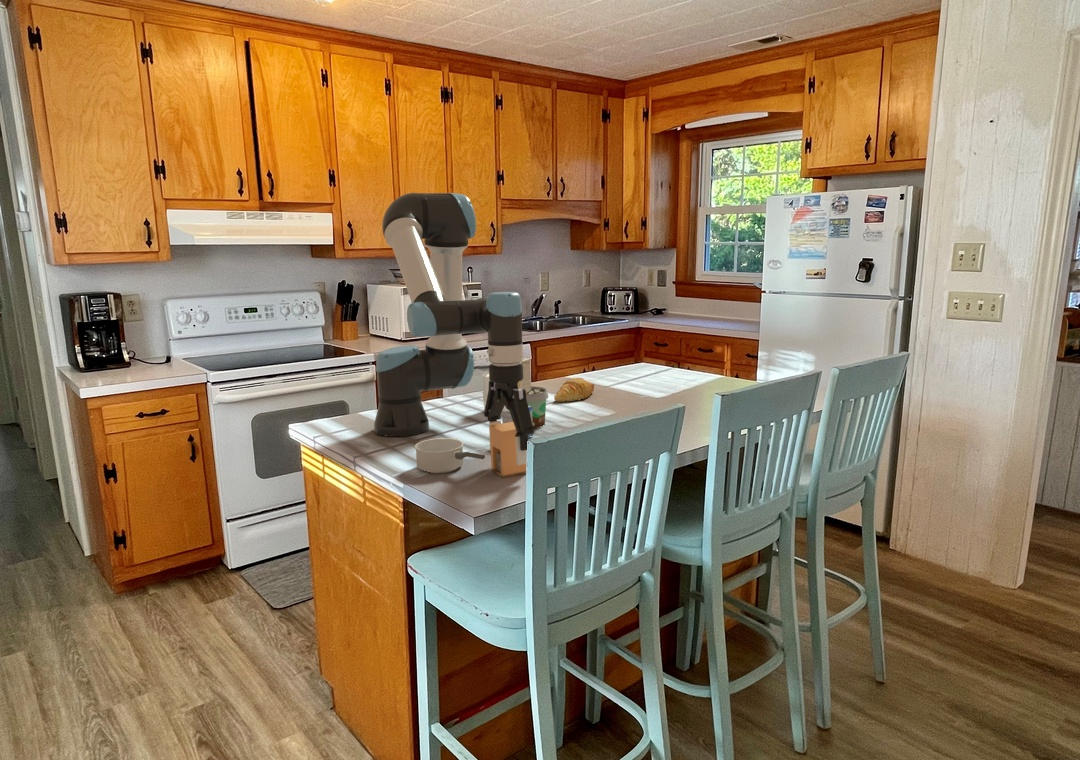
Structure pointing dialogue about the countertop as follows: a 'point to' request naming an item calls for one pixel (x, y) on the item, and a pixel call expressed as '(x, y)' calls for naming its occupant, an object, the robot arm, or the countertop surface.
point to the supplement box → (525, 376)
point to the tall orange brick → (504, 448)
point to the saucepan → (441, 455)
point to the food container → (537, 405)
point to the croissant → (574, 390)
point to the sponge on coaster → (498, 470)
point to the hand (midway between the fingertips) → (508, 456)
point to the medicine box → (507, 417)
